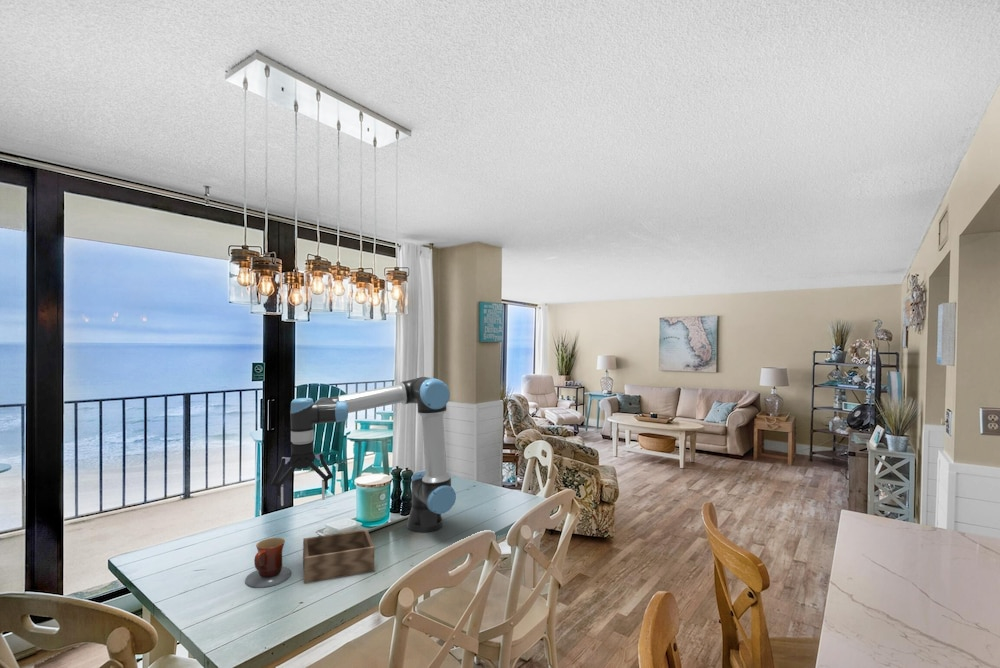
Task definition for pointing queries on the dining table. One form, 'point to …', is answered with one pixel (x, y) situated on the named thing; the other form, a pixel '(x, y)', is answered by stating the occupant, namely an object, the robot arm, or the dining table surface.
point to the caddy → (337, 555)
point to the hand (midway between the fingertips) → (303, 501)
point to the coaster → (267, 579)
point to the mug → (269, 557)
